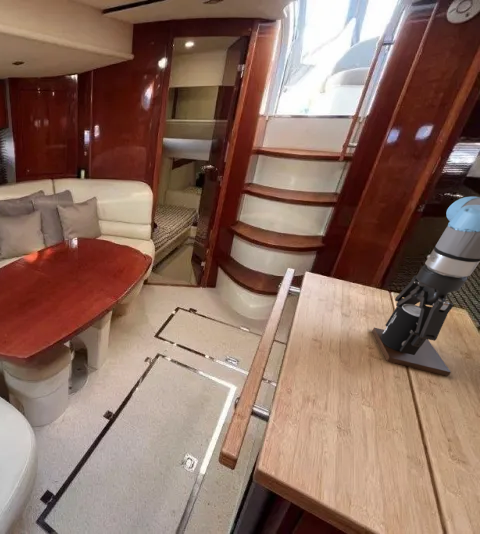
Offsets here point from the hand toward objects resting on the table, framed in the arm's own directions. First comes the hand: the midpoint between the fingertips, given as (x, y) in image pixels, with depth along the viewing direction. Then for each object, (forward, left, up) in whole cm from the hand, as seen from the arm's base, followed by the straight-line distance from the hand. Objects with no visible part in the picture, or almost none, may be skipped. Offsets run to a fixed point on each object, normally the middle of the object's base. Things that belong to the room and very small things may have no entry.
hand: (398, 339), depth 84 cm
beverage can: (0, 0, -2) cm, 2 cm away
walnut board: (-3, 0, -4) cm, 5 cm away
